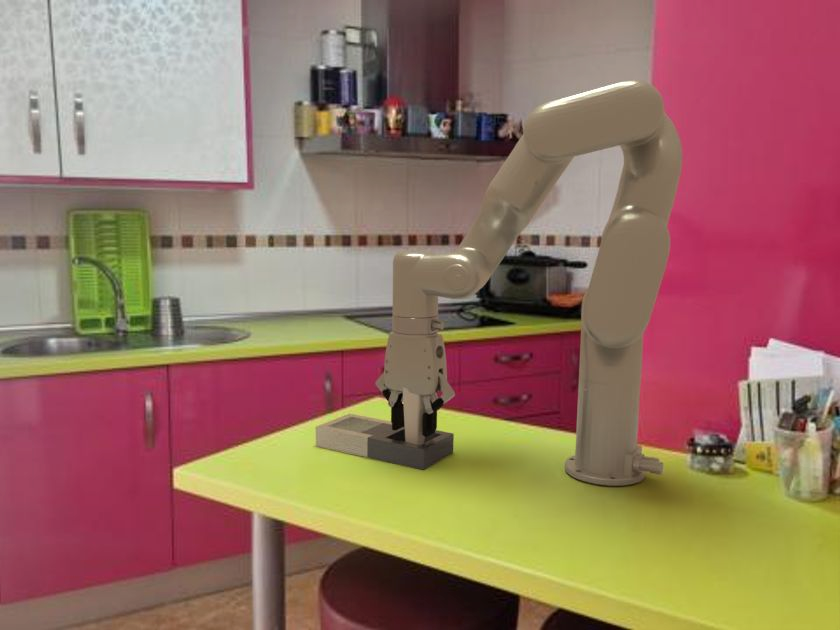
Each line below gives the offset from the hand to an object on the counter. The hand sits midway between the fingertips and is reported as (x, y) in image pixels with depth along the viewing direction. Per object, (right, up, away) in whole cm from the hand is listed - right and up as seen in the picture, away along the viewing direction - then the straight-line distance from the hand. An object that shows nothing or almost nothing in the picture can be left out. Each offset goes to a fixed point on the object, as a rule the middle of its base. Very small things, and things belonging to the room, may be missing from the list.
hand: (413, 430), depth 130 cm
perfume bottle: (0, -5, +1) cm, 5 cm away
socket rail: (-5, -4, +4) cm, 7 cm away
